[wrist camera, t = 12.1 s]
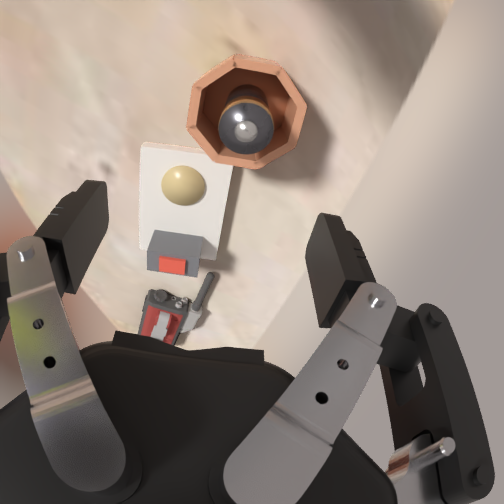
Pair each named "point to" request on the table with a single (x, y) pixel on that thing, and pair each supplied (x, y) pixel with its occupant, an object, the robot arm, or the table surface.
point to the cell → (246, 120)
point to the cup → (214, 99)
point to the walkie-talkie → (171, 313)
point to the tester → (180, 207)
